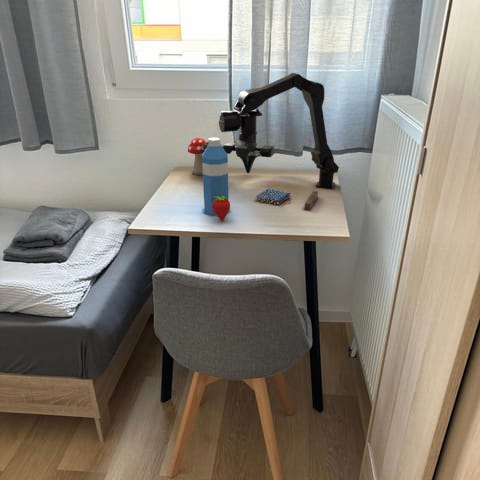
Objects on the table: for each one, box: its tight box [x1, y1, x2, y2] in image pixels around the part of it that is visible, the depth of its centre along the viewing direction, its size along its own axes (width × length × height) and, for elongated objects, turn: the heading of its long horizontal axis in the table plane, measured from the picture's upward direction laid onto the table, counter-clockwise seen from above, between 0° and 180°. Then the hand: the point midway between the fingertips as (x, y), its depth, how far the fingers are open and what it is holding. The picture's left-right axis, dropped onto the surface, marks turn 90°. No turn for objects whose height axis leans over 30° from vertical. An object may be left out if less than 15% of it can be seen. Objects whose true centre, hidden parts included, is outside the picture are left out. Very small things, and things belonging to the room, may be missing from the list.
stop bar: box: [303, 190, 319, 211], centre depth 181 cm, size 14×2×2 cm, turn 161°
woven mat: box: [255, 188, 292, 205], centre depth 185 cm, size 10×11×2 cm
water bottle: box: [202, 137, 230, 216], centre depth 169 cm, size 9×9×25 cm
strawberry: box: [212, 192, 231, 222], centre depth 166 cm, size 6×8×10 cm
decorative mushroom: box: [187, 137, 207, 176], centre depth 209 cm, size 10×9×15 cm
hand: (248, 173), depth 183 cm, fingers closed
